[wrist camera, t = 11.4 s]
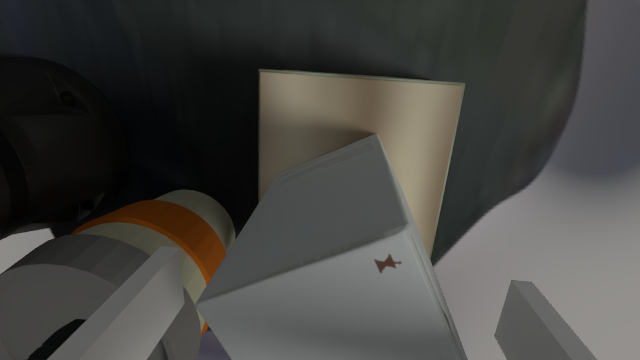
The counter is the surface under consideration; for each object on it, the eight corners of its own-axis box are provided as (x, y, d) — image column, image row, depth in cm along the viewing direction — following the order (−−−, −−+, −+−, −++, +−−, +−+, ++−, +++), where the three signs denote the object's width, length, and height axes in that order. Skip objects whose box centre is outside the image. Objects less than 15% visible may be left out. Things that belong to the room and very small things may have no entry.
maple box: (278, 241, 33) (257, 293, 25) (283, 67, 28) (257, 69, 20) (404, 253, 32) (420, 311, 25) (434, 78, 27) (466, 83, 19)
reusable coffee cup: (230, 159, 31) (128, 241, 17) (268, 274, 34) (210, 420, 20) (111, 185, 33) (-72, 277, 18) (159, 291, 36) (37, 435, 22)
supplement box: (273, 173, 22) (183, 299, 10) (379, 130, 21) (418, 220, 9) (318, 263, 24) (286, 457, 12) (417, 230, 23) (492, 415, 11)
